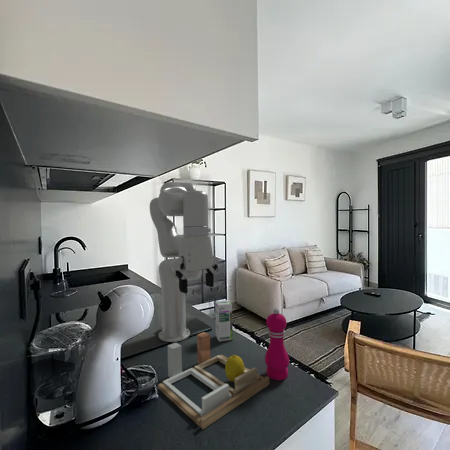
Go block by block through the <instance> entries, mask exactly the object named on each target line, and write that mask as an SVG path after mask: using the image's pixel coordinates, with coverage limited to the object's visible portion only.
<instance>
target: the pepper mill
mask: <svg viewBox="0 0 450 450" xmlns="http://www.w3.org/2000/svg"><path fill="white" fill-rule="evenodd" d="M287 323H288V322H287V319H286V317H285V316H284V315H283V314H281V313H280V310H279V309H278V308H273V311H272V313H270V314H269V315H267V318H266V323H265V324H266V327H267V328H268V332H267V333H268V336H269V345H268V348H267V350H266V351H265V356H264V363H265V364H266V376H268V377H269V379H271V380H275V381H283V380H286V379H288V376H289V369H288V367H289V366H290V365H289V364H290V357H289V354H288V352H287V349H286V348H285V344H284V343H285V342H284V337H285V336H286V333H285V332H286V330H285V329H286V327H287V325H288V324H287Z"/></svg>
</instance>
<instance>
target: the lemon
mask: <svg viewBox="0 0 450 450" xmlns="http://www.w3.org/2000/svg"><path fill="white" fill-rule="evenodd" d="M227 358H228V359H227V362H226V365H225V364H224V365H225V366H224V367H225V368H224V370H225V371H224V372H225V375H226V378H227V379H228V381H230V382H233V383H234V384H235V378H237V377H238V376H240V375H242V374H244V367H245V364H244V361H243V358H241V357H240V356H238V355H237V354H233V355H230V356H229V357H227Z"/></svg>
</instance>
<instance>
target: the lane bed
mask: <svg viewBox="0 0 450 450" xmlns="http://www.w3.org/2000/svg"><path fill="white" fill-rule="evenodd" d="M219 356H221V357H223V358H225V359H226V360H227V359H228V358H229V357H226V356H225V355H224V354H220V355H219ZM192 368H193V369H194V370H196V369H195V368H194V367H192ZM244 369H245V370H247V371H249V370H250V368H247V367H246V366H244ZM196 371H197V372H199V371H198V370H196ZM199 373H200V374H202V373H201V372H199ZM202 375H203V376H205V375H204V374H202ZM257 376H258V377H259V378H260V380H259V381H258V382H256V383H255V384H253V385H252V386H250V387H248V388H247V389H245V390H244V391H242V392H241V393H239V394H237V395H236V396H235V395H233V394H232V393H230V392H229V393H230V394H231V395H232V398H231V399H230V400H228V401H227V402H225V403H223V404H222V405H220V406H219V407H217V408H216V409H214V410H212V411H211V412H209V413H208V414H206V415H205V416H203V417H202V418H201V417H200V416H199V415H198V414H197V413H195V412H194V411H193V410H192V409H191V408H190V407H188V406H187V405H186V404H185V403H184V402H183V401H182V400H180V399H179V398H178V397H177V396H176V395H175V394H174V393H172V392H171V391H170V390H169V389H168V388H167V387H166V386H164V385H163V382H160V383H158V384H157V385H158V386H157V387H158V389H159V391H160V392H161V393H163V394H164V395H165V396H166V398H167V399H169V400H170V401H171V402H172V403H174V404H175V406H177V407H178V408H179V409H180V410H181V411H182V412H183V413H184V414H185V415H186V416H188V418H190V419H191V420H192V421H193V422H194V423H195V424H196V425H197V426H198V427H199V428H200V429H201V430H204V429H207V428H208V427H209V426H210V425H211V424H214V423H215V422H216V421H218V420H220V419H221V418H222V417H224V416H225V415H226V414H229V412H231V411H233V410H234V409H235V408H237V407H239V405H242V404H243V403H244V402H246V401H247V400H248V399H250V398H251V397H253V396H255V395H256V394H258V393H259V392H261V391H262V390H264V389H265V388H266V387H268V386H269V385H270V377H268V375H265V376H262V375H260V374H259V373H257ZM205 377H206V378H208V377H207V376H205ZM208 379H209V380H211V379H210V378H208ZM211 381H212V382H214V381H213V380H211ZM214 383H215V382H214ZM215 384H217V383H215ZM217 385H218V384H217ZM218 386H219V387H221V386H220V385H218Z"/></svg>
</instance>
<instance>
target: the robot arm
mask: <svg viewBox="0 0 450 450" xmlns="http://www.w3.org/2000/svg"><path fill="white" fill-rule="evenodd" d="M159 191H160V192H159V194H158V197H154V198H152V199H151V200H150V202H149V213H150V218H151V220H152V223H153V225H154V227H155V229H156V233H157V240H158V248H159V252H160V255H161V256H162V258H166V259H164V260H162V261H161V262H160V264H159V265H158V274H159V279H160V280H159V281H160V287H161V313H162V314H161V320H162V322H160V326H161V327H162V328H161V329H162V330H161V331H159V333H158V339H159V340H161V341H163V342H166V343H178V342H181V341H184V340H185V339H187V338H189V336H190V335H191V330H189V328H188V327H187V317H186V316H187V312H186V311H187V308H186V302H187V301H186V294H188V292H189V290H188V281H195V280H198V279H200V278H201V277H202V273H203V271H204V270H205V271H206V273H205V286H206V287H210V288H213V287H214V286H215V285H214V281H215V278H214V277H215V276H214V275H215V274H216V270H217V269H218V266H219V262H220V258H219V257H217V256H215V255H214V254H213V245H212V244H213V243H212V240H211V237H210V236H209V233H211V230H212V229H211V228H210V227H209V196H208V195H209V194H208V193H207V192H206V191H203V190H197V189H196V187H195V185H194V184H193V183H191V182H183V181H181V182H180V181H168V182H165V183H164V184H163V185H161V187H160V190H159ZM168 217H182V219H183V220H182V224H183V225H182V227H183V229H182V230H183V233H182V234H181V235H179V234H178V230H177V226H176V224H175V223H174V222H173V221H172V220H171V219H170V218H168ZM167 258H168V259H167Z"/></svg>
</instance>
